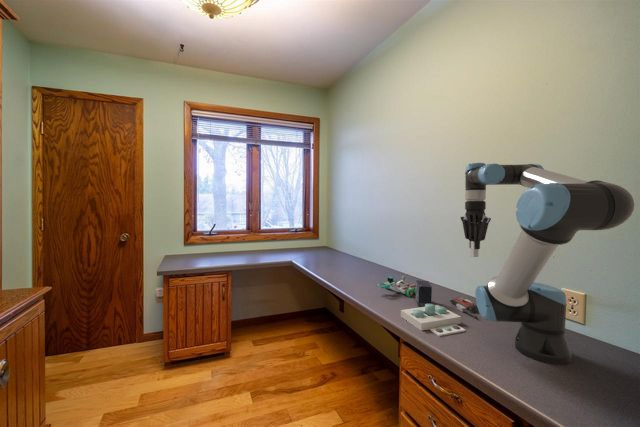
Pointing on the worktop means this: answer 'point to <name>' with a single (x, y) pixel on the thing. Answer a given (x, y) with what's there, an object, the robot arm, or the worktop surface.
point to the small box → (423, 293)
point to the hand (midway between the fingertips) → (474, 256)
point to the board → (430, 319)
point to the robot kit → (399, 286)
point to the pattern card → (447, 330)
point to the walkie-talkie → (465, 305)
